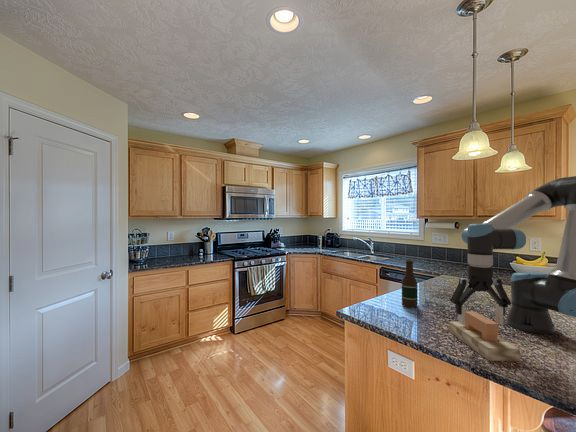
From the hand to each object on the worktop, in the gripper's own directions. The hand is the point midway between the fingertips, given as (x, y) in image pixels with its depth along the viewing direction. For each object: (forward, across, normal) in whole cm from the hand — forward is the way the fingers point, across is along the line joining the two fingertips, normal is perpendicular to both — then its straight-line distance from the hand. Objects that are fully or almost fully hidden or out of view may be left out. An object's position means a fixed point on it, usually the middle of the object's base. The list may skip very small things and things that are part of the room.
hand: (480, 323), depth 96 cm
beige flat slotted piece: (+8, 0, 0) cm, 8 cm away
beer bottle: (+8, +8, -42) cm, 43 cm away
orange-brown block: (+8, 0, 0) cm, 8 cm away
